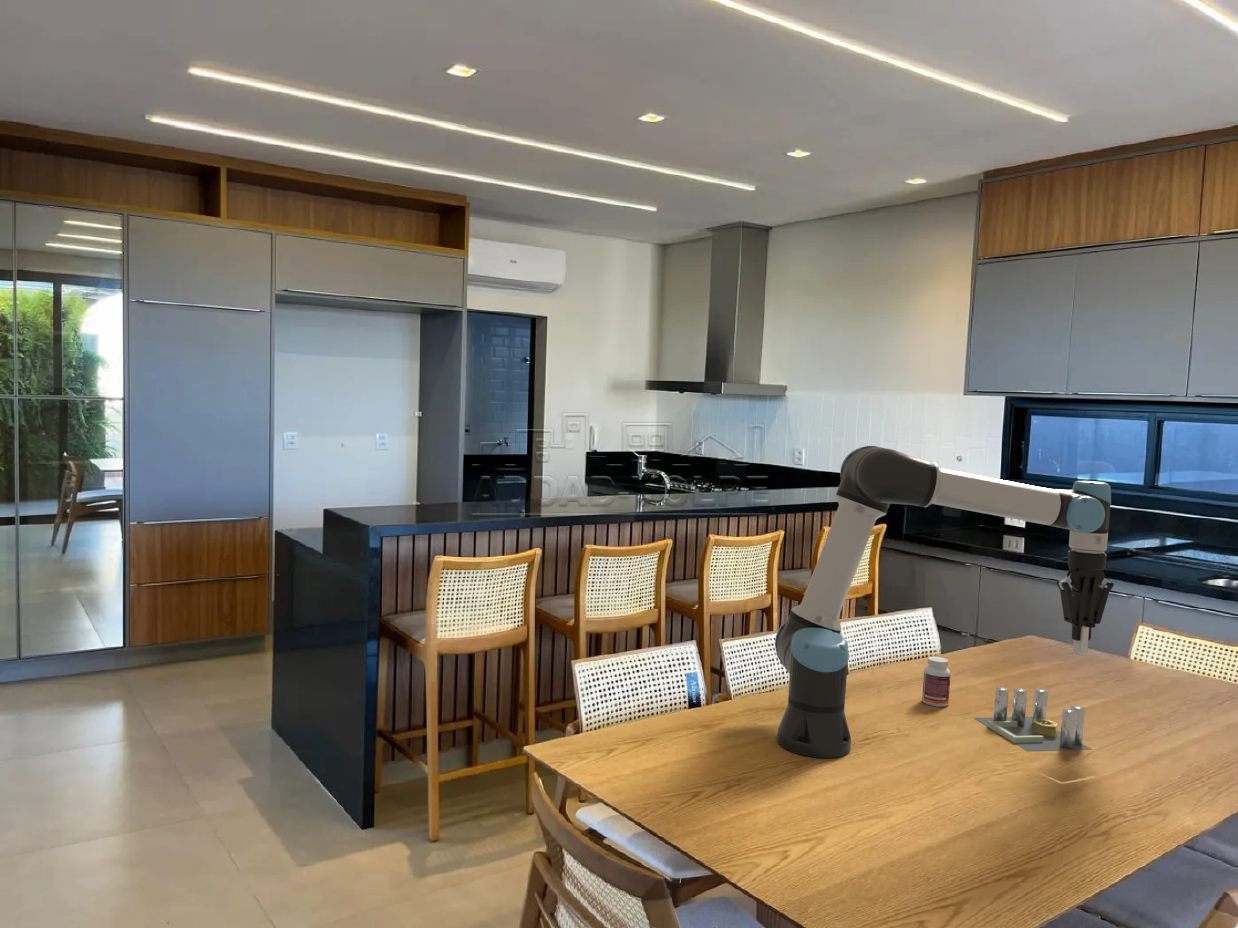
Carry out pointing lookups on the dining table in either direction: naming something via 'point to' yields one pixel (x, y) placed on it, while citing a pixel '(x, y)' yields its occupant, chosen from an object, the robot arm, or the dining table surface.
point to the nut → (1045, 728)
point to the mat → (1027, 730)
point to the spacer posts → (1041, 714)
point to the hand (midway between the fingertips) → (1079, 654)
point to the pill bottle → (936, 682)
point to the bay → (999, 729)
